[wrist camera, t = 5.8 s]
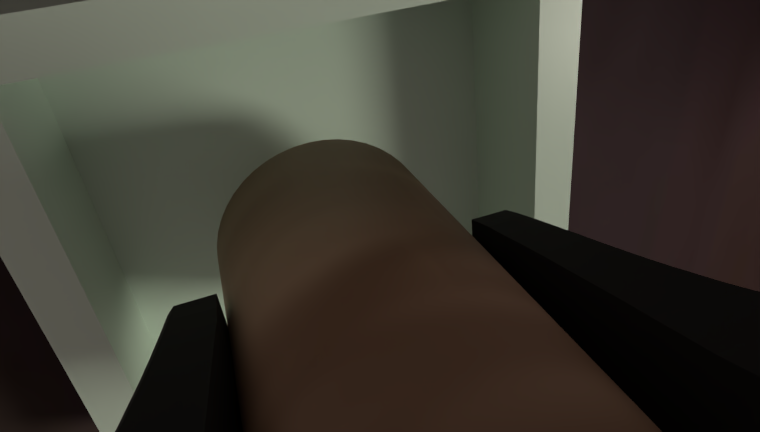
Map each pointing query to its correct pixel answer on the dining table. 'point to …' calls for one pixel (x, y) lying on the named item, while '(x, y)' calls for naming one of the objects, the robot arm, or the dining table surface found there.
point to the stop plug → (388, 312)
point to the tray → (247, 138)
